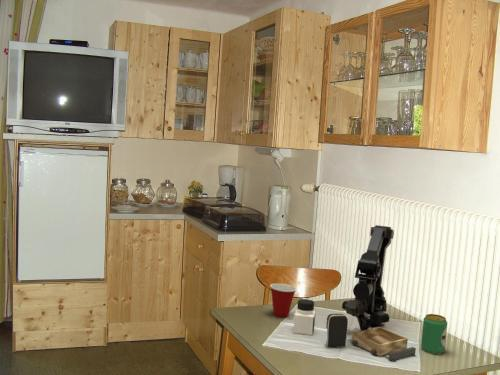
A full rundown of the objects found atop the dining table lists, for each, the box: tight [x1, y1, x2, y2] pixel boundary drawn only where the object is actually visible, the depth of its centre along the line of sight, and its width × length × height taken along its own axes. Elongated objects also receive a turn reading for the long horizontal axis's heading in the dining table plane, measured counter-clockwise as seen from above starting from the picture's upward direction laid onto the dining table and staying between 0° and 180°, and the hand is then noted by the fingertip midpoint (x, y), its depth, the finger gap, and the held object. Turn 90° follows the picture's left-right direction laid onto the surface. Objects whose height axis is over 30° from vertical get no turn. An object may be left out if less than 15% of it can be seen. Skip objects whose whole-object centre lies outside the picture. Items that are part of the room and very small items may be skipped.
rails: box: [346, 327, 417, 363], centre depth 197 cm, size 12×29×2 cm, turn 34°
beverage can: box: [420, 313, 448, 355], centre depth 194 cm, size 8×8×12 cm
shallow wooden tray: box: [351, 326, 409, 357], centre depth 195 cm, size 16×13×4 cm
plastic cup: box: [269, 283, 297, 318], centre depth 222 cm, size 11×11×12 cm
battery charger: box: [325, 313, 349, 348], centre depth 193 cm, size 7×4×11 cm, turn 102°
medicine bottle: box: [293, 298, 316, 336], centre depth 206 cm, size 7×7×12 cm
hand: (363, 334), depth 202 cm, fingers closed
